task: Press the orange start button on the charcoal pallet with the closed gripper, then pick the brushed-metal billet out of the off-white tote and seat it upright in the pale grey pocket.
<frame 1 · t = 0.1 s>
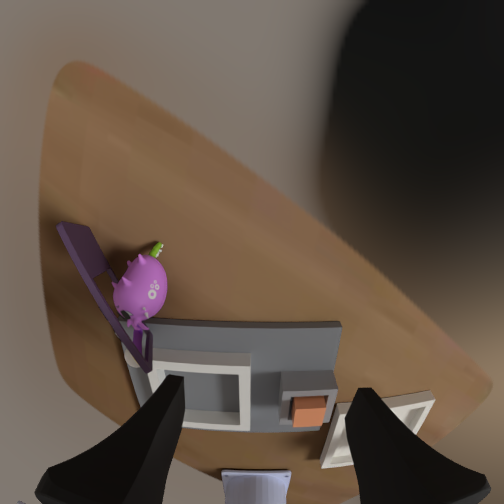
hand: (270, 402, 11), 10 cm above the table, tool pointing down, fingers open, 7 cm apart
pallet: (228, 382, 23), on the table
start button: (307, 409, 20), point 3 cm above the table, slide at 0.0 cm
eggplant monster toy: (142, 268, 20), on the table, touching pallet
tote: (373, 429, 26), on the table
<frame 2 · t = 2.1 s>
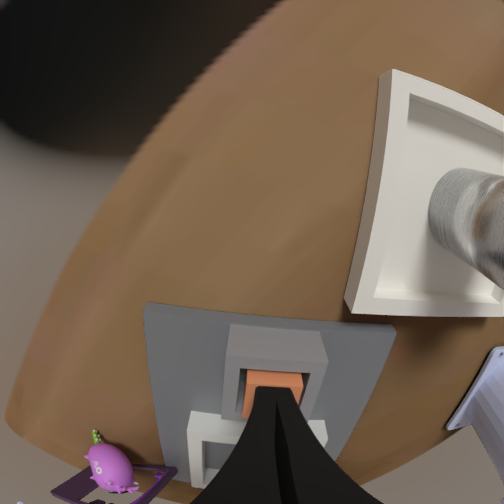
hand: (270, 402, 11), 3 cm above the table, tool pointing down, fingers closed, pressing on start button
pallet: (255, 425, 17), on the table
start button: (270, 388, 12), point 3 cm above the table, slide at 0.5 cm, touching gripper
eggplant monster toy: (119, 446, 18), on the table, touching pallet
billet: (461, 210, 12), resting on tote
tote: (456, 208, 12), on the table
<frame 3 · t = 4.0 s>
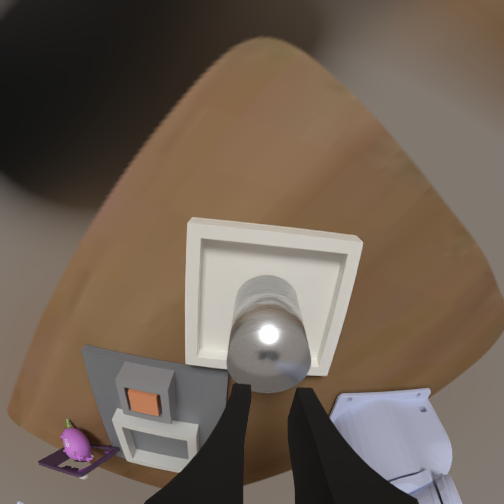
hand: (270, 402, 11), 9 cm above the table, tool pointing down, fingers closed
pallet: (160, 422, 24), on the table
start button: (146, 396, 20), point 2 cm above the table, slide at 0.9 cm
eggplant monster toy: (84, 431, 26), on the table, touching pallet
billet: (266, 303, 19), resting on tote
tote: (266, 300, 20), on the table
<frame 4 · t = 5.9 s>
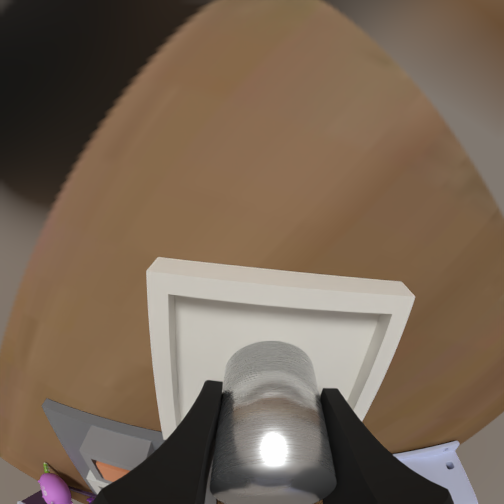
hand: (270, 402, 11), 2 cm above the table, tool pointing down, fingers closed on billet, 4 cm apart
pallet: (142, 479, 18), on the table
start button: (120, 466, 14), point 2 cm above the table, slide at 0.9 cm
eggplant monster toy: (64, 475, 20), on the table, touching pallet
billet: (269, 375, 13), resting on tote, touching gripper
tote: (269, 370, 13), on the table
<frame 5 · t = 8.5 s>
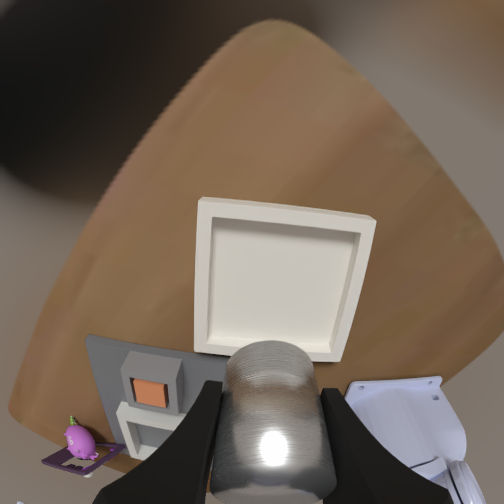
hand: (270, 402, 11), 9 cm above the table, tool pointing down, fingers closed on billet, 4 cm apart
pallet: (166, 415, 24), on the table
start button: (152, 387, 20), point 2 cm above the table, slide at 0.9 cm
eggplant monster toy: (89, 429, 26), on the table
billet: (269, 375, 13), point 7 cm above the table, touching gripper
tote: (277, 283, 19), on the table
when the fingers open (3 cm above the table, at t = 11.4 s): billet stays where it is, resting on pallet.
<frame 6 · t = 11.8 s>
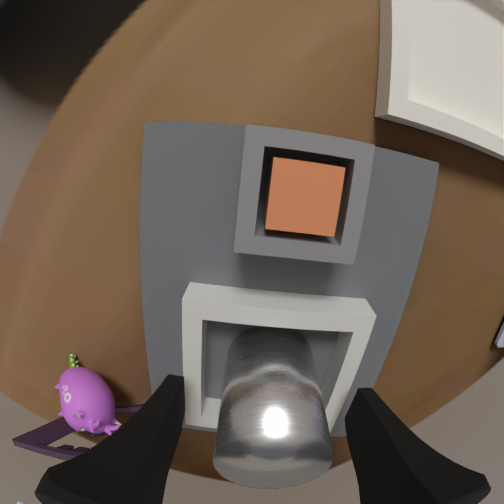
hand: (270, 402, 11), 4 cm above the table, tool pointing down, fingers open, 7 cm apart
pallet: (274, 318, 14), on the table
start button: (301, 193, 10), point 2 cm above the table, slide at 0.9 cm
eggplant monster toy: (103, 380, 16), on the table, touching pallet
billet: (269, 358, 14), point 1 cm above the table, touching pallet
tote: (468, 52, 9), on the table
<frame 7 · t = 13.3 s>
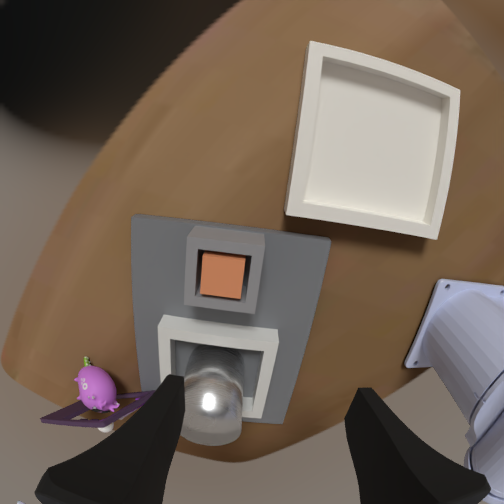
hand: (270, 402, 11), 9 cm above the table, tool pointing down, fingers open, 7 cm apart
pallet: (219, 337, 21), on the table
start button: (223, 271, 17), point 2 cm above the table, slide at 0.9 cm
eggplant monster toy: (107, 375, 23), on the table, touching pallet
billet: (216, 363, 21), point 1 cm above the table, touching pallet
tote: (376, 142, 16), on the table
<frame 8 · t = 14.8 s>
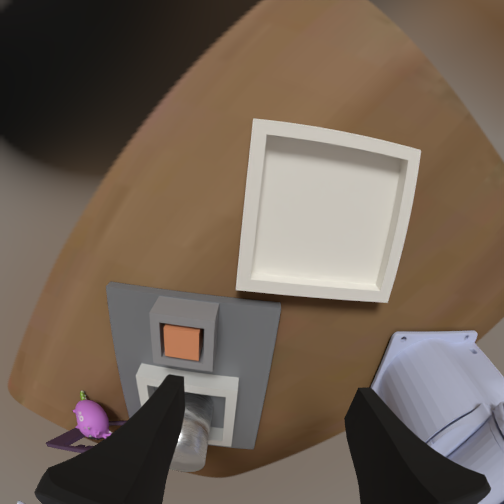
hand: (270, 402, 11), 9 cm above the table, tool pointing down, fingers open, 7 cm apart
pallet: (190, 380, 23), on the table
start button: (184, 336, 19), point 2 cm above the table, slide at 0.9 cm
eggplant monster toy: (101, 405, 25), on the table, touching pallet
billet: (189, 401, 23), point 1 cm above the table, touching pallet
tote: (326, 213, 18), on the table
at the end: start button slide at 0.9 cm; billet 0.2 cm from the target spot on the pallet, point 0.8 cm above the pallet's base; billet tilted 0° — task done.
